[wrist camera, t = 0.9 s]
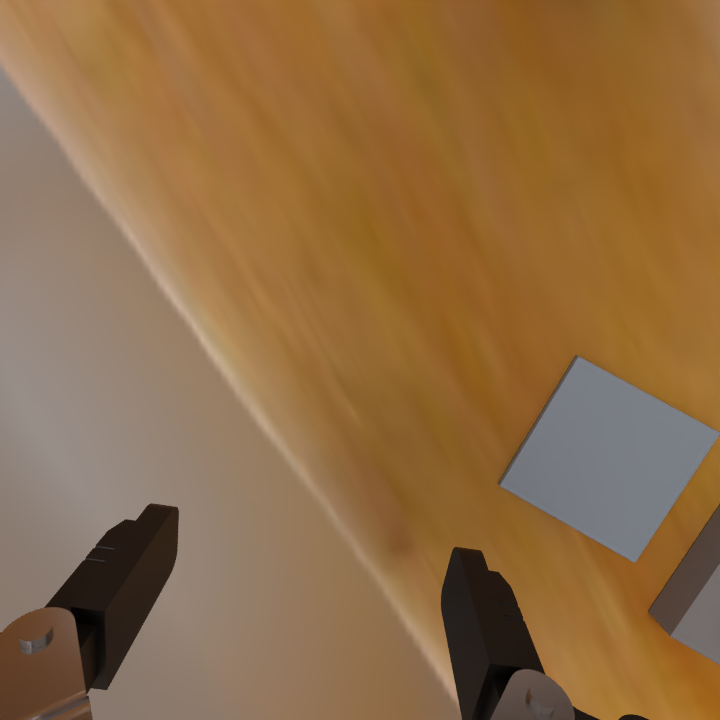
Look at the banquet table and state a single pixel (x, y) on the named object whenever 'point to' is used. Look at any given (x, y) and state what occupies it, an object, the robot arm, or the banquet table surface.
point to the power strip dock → (695, 595)
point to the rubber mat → (607, 458)
